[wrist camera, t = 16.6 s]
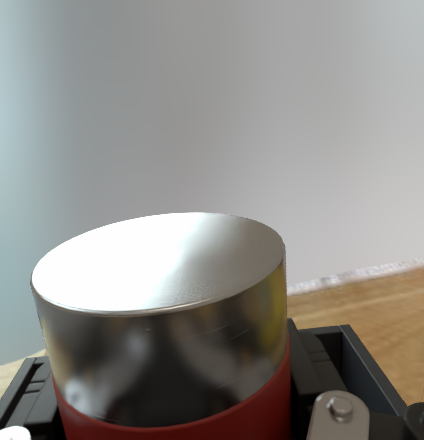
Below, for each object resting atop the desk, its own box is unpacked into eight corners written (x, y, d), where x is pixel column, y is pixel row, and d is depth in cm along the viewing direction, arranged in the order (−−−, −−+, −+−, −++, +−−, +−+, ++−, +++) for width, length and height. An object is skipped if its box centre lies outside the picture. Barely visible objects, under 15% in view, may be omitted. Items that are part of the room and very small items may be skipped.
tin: (92, 726, 10) (-33, 331, 6) (127, 497, 16) (72, 221, 12) (322, 694, 10) (325, 294, 7) (273, 479, 16) (261, 203, 12)
